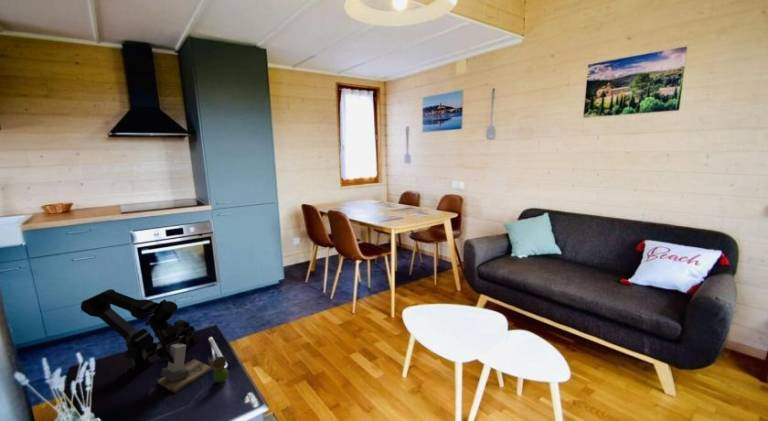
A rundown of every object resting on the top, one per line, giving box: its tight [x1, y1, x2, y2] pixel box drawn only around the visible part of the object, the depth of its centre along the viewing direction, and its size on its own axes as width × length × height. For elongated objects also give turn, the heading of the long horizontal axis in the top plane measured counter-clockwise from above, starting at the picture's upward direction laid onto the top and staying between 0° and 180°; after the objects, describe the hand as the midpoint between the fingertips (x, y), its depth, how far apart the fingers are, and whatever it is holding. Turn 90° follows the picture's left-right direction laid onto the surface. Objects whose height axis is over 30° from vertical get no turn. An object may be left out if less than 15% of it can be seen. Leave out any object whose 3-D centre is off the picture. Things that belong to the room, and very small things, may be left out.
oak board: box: [157, 358, 213, 394], centre depth 139 cm, size 12×15×1 cm
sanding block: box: [160, 343, 189, 382], centre depth 137 cm, size 8×6×12 cm
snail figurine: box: [207, 355, 230, 384], centre depth 134 cm, size 5×6×12 cm
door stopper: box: [173, 318, 200, 349], centre depth 160 cm, size 9×6×12 cm, turn 148°
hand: (180, 359), depth 136 cm, fingers closed on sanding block, 5 cm apart
